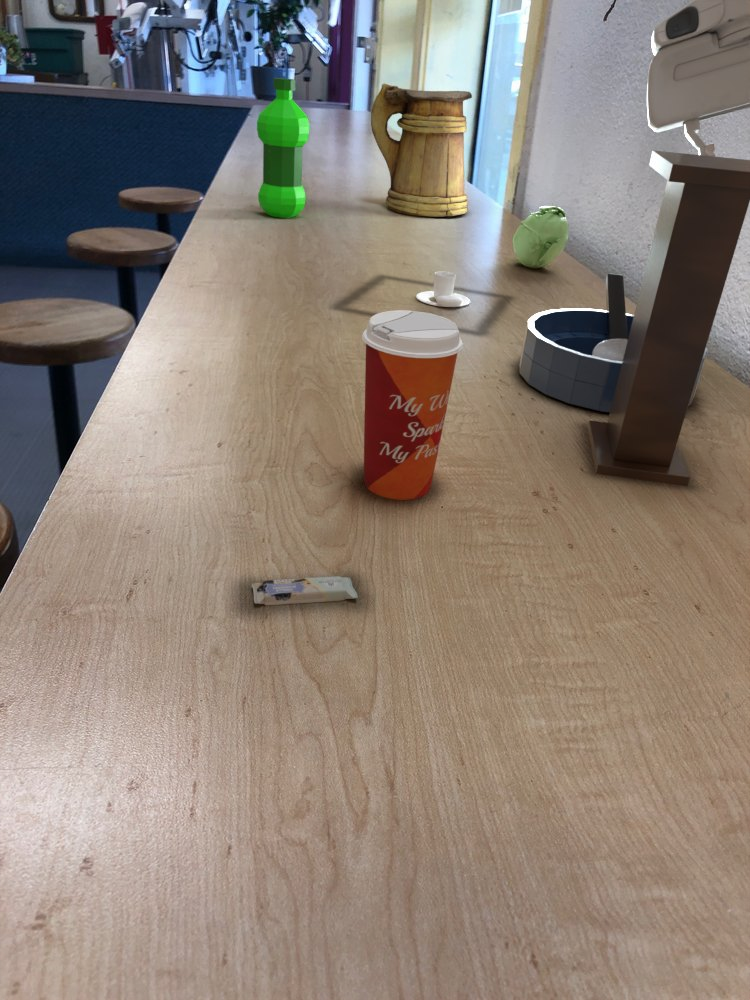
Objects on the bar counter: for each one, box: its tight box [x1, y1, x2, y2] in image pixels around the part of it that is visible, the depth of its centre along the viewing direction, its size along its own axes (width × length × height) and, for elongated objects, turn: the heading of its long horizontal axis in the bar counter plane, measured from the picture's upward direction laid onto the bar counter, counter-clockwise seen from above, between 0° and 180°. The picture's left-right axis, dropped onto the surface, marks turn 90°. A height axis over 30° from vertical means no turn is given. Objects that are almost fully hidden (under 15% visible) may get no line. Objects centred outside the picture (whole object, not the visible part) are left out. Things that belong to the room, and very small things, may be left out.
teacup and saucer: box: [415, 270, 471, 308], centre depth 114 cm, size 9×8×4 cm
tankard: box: [370, 83, 473, 218], centre depth 174 cm, size 18×24×25 cm
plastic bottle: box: [256, 77, 311, 219], centre depth 155 cm, size 10×10×25 cm
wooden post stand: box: [586, 150, 750, 487], centre depth 68 cm, size 8×10×26 cm
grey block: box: [591, 273, 628, 361], centre depth 91 cm, size 7×22×3 cm, turn 171°
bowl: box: [518, 308, 709, 413], centre depth 89 cm, size 20×20×6 cm
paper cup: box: [361, 309, 464, 501], centre depth 62 cm, size 8×8×14 cm
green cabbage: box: [512, 205, 570, 269], centre depth 135 cm, size 12×11×11 cm
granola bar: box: [251, 575, 359, 606], centre depth 51 cm, size 7×2×1 cm, turn 101°
